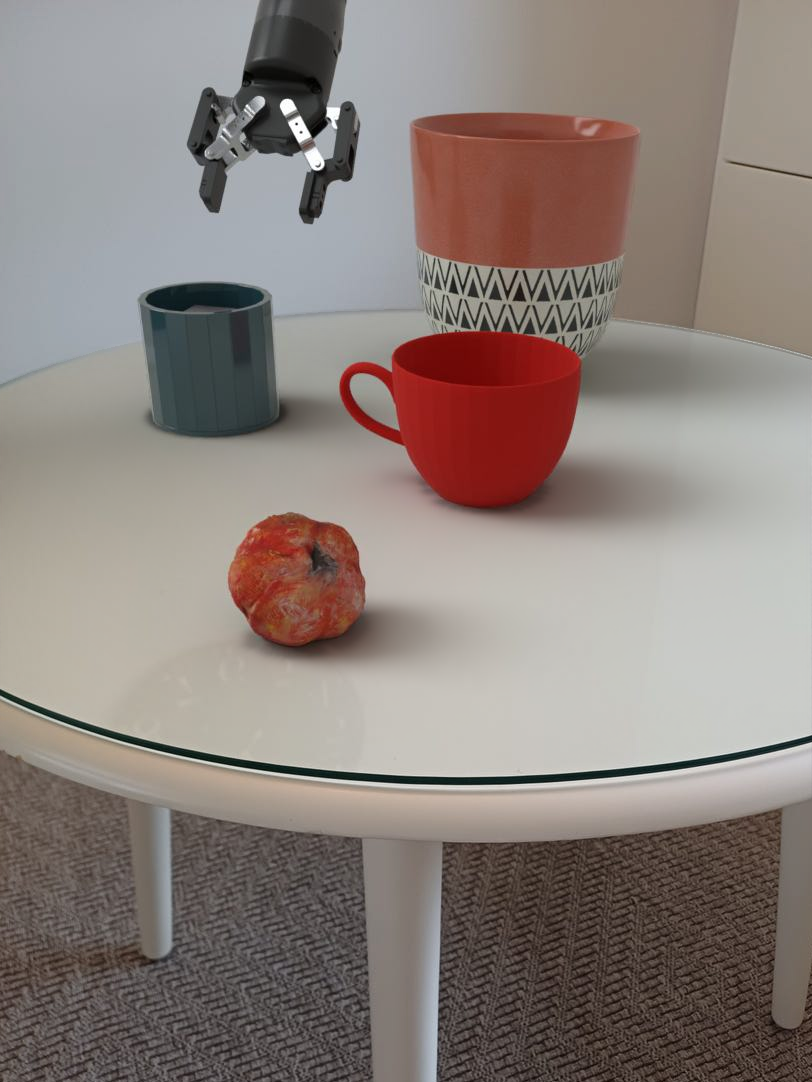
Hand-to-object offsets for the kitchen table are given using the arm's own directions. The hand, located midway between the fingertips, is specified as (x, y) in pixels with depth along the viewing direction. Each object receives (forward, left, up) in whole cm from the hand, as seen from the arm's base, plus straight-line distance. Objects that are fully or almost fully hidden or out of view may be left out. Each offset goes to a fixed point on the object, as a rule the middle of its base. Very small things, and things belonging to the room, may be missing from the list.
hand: (257, 213), depth 96 cm
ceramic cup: (+16, -26, -14) cm, 34 cm away
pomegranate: (+6, -46, -14) cm, 49 cm away
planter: (+23, +1, -14) cm, 27 cm away
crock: (-3, -11, -14) cm, 19 cm away
